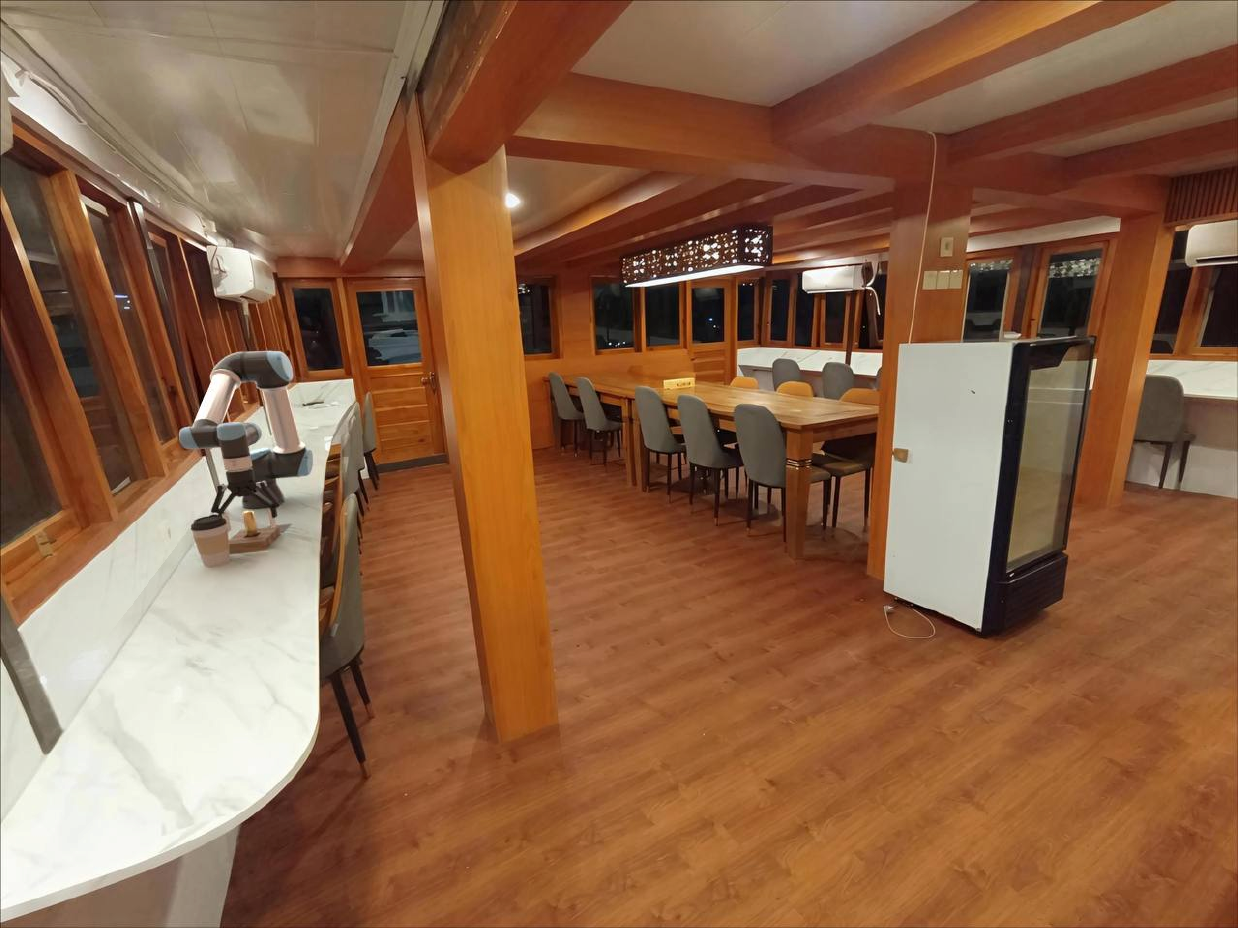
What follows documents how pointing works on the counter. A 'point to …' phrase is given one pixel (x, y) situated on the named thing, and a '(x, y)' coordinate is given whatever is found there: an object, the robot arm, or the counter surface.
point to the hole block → (253, 540)
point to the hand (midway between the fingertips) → (251, 528)
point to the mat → (283, 527)
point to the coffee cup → (212, 540)
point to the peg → (250, 523)
